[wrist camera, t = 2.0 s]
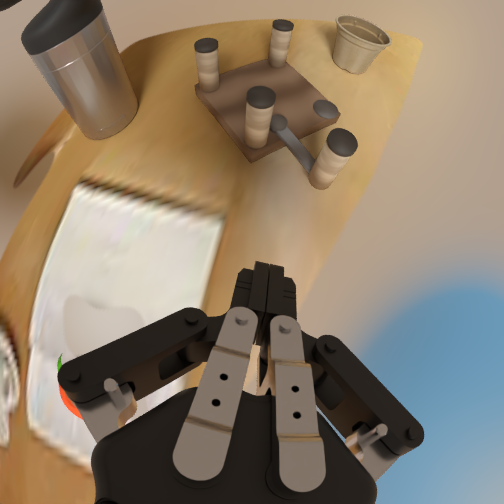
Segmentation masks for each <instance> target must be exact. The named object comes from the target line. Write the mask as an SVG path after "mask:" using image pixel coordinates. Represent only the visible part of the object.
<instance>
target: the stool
mask: <svg viewBox="0 0 504 504" xmlns="http://www.w3.org/2000/svg"><path fill="white" fill-rule="evenodd" d="M272 26H273V28H272V35H271V42H270V49H269V56H268V59H265V60H261V61H258V62H255V63H252V64H249V65H246V66H243V67H240V68H237V69H234V70H231V71H228V72H226V73H223V74H220V75H219V66H218V41H217V40H216V39H213V38H203V39H200V40H198V41H196V42H195V44H194V47H195V52H196V61H197V69H198V77H199V83H198V84H196V85H195V91H196V95H197V96H198V98H199V99H200V100H201V101H202V102H203V104H204V105H205V106H206V107H207V108H208V110H209V111H210V112H211V113H212V115H213V116H214V117H215V118H216V119H217V121H218V122H219V123H220V124H221V126H222V127H223V128H224V129H225V131H226V132H227V133H228V134H229V136H230V137H231V138H232V140H233V141H234V142H235V143H236V145H237V146H238V147H239V149H240V150H241V151H242V152H243V154H244V155H245V156H246V158H247V159H248V160H249V162H250V163H252V162H254V161H256V160H258V159H260V158H262V157H264V156H266V155H268V154H270V153H272V152H274V151H276V150H278V149H280V148H282V147H284V146H286V145H285V144H284V143H283V141H282V140H281V139H280V138H279V137H278V135H277V134H275V133H273V132H271V131H270V129H269V128H270V122H271V117H272V116H273V115H276V114H280V115H283V116H284V117H286V119H287V121H288V123H287V127H288V129H289V130H290V131H291V132H292V133H293V134H294V135H295V137H296V138H297V139H298V140H299V139H301V138H303V137H305V136H307V135H309V134H312V133H314V132H316V131H318V130H320V129H323V128H325V127H327V126H329V125H332V124H334V123H336V122H337V120H338V118H339V116H340V113H339V111H338V109H337V107H336V106H335V105H334V104H333V103H331V102H330V101H328V100H327V99H326V98H325V97H324V96H323V95H322V94H321V93H320V92H319V91H318V90H317V89H316V88H315V87H313V86H312V85H311V84H310V83H309V82H308V81H307V80H306V79H305V78H304V77H303V76H302V75H300V74H299V73H298V72H297V71H296V70H295V69H294V68H293V67H291V66H290V65H289V64H288V63H287V62H286V58H287V53H288V49H289V44H290V39H291V34H292V30H293V27H294V24H293V23H292V22H290V21H287V20H282V19H278V20H274V21H273V25H272Z"/></svg>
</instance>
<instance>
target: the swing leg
mask: <svg viewBox="0 0 504 504" xmlns="http://www.w3.org/2000/svg"><path fill="white" fill-rule="evenodd" d="M287 123H288V121H287V119H286V117H284V116H283V115H280V114H276V115H273V116H272V117H271V122H270V128H269V129H270V131H271V132H273V133H275V134H277V135H278V137H279V138H280V139H281V140H282V141H283V143H284V144H285V145H286V146H287V147H288V149H289V150H290V151H291V152H292V153H293V155H294V156H295V157H296V158H297V160H298V161H299V162H300V163H301V165H302V166H303V167H304V168H305V170H306V171H307V172H308V173H309V175H308V180H309V182H310V184H311V185H312V186H313V187H314V188H316V189H319V190H324V189H327V188H328V187H329V186H330V185H331V183H332V182H333V180H334V179H335V178H336V176H337V175H338V174H339V172H340V171H341V169H342V168H343V167H344V165H345V164H346V162H347V161H348V160H349V158H350V157H351V155H353V154H354V152H355V151H356V149H357V147H358V143H357V140H356V138H355V136H354V135H353V134H352V133H351V132H349V131H347V130H345V129H342V128H336V129H333V130H331V131H330V133H329V135H328V137H327V140H326V142H325V144H324V146H323V148H322V150H321V152H320V153H319V155H318V157H317V159H316V161H315V159H314V158H313V157H312V156H311V154H310V153H309V152H308V151H307V150H306V148H305V147H304V146H303V145H302V144H301V142H300V141H299V140H298V139H297V138H296V137H295V135H294V134H293V133H292V132H291V131H290V130H289V129H288V127H287Z"/></svg>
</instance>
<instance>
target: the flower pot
mask: <svg viewBox="0 0 504 504" xmlns="http://www.w3.org/2000/svg"><path fill="white" fill-rule="evenodd" d="M336 23H337V37H336V42H335V48H334V53H333V61H334V62H335V63H336V65H338V66H339V67H340V68H341V69H346V70H348V71H349V72H350V73H354V74H362V73H364V72H365V71H366V70H367V68H368V67H369V65H370V64H371V63H372V62H373V60H374V59H375V58H376V57H377V55H378V54H379V53H380V52H381V50H384V49H385V48H386V47H387V46H390V45H391V42H392V41H391V38H390V36H389V35H388V34H387V33H386V32H385V31H384V30H382V29H381V28H379V27H378V26H377V25H375V24H373V23H372V22H369V21H367V20H365V19H363V18H360V17H357V16H352V15H340V16H337V17H336Z"/></svg>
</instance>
